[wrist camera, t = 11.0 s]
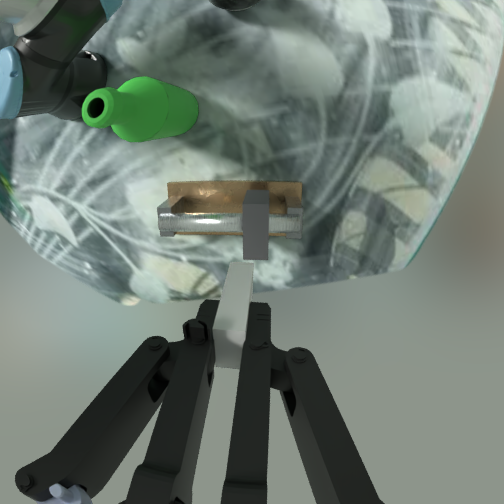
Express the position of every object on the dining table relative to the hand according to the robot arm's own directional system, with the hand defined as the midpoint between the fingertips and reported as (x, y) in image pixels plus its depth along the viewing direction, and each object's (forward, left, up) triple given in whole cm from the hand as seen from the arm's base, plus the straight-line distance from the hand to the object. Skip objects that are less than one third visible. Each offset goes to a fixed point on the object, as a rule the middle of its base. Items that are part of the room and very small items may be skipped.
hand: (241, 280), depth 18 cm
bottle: (-14, +13, -33) cm, 38 cm away
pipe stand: (-4, -5, -32) cm, 33 cm away
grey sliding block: (0, -5, -29) cm, 29 cm away
